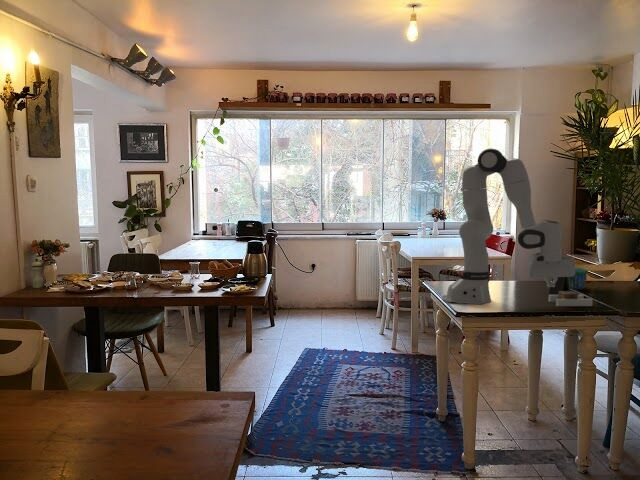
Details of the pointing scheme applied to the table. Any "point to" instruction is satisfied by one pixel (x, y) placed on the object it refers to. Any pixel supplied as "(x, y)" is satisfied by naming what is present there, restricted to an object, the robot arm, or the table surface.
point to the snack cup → (578, 279)
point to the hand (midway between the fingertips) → (551, 286)
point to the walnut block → (567, 295)
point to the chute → (570, 301)
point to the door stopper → (560, 285)
